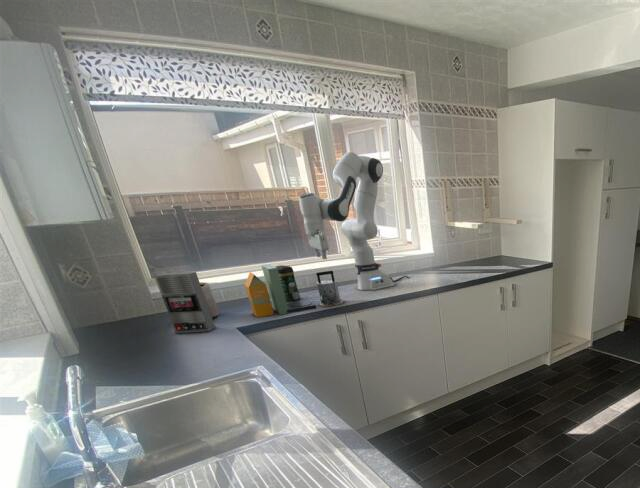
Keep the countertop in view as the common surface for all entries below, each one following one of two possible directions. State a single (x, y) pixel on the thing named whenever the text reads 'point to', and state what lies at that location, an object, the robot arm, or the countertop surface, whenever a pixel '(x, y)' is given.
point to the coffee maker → (281, 293)
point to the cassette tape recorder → (185, 302)
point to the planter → (210, 300)
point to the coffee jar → (288, 283)
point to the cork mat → (331, 305)
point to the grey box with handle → (328, 289)
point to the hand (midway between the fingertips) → (321, 257)
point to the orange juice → (258, 296)
